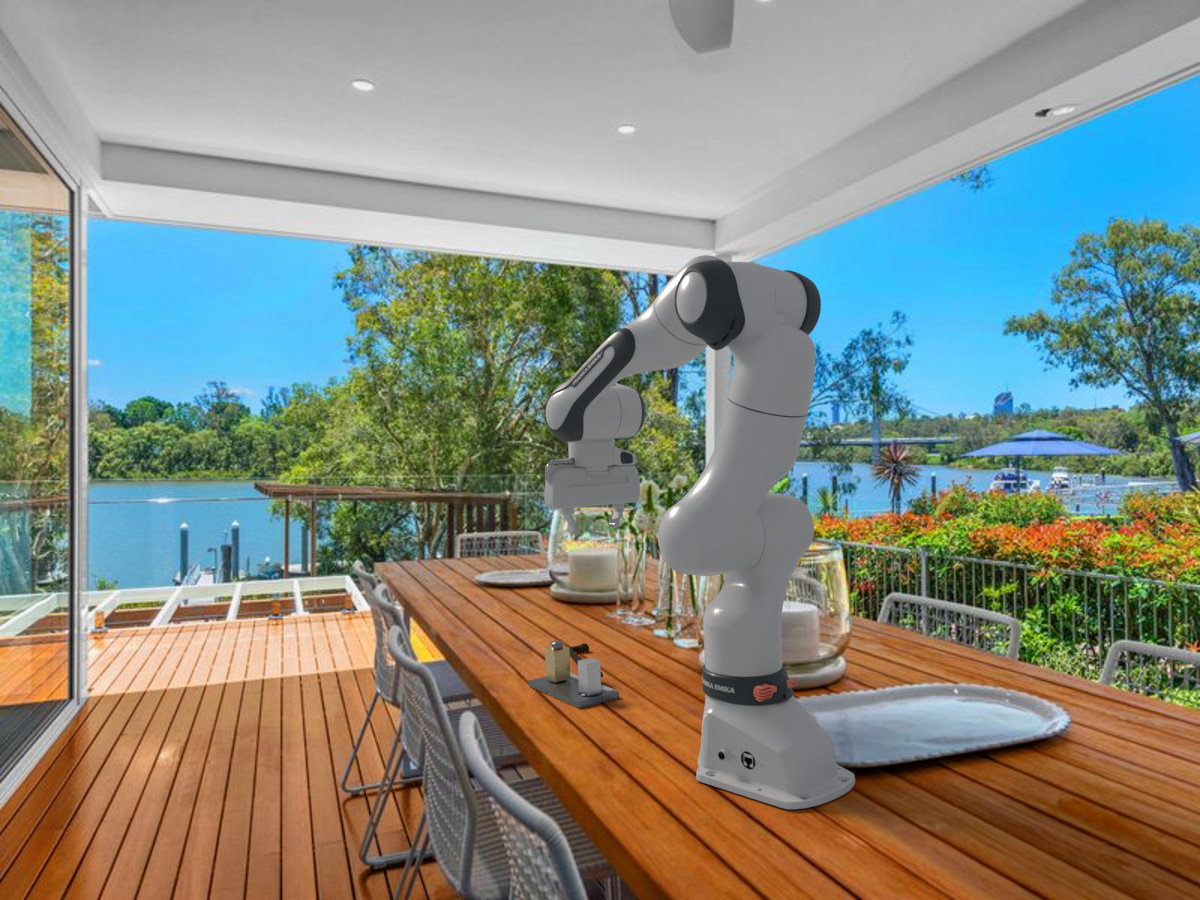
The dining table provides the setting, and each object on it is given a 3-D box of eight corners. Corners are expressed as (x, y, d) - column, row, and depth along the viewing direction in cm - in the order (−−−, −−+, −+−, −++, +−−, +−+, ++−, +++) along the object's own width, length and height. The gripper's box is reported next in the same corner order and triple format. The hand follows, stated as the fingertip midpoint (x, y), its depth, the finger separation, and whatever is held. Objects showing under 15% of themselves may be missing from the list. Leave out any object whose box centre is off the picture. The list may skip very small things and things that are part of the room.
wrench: (589, 659, 182) (617, 687, 153) (568, 663, 181) (592, 691, 152) (587, 636, 183) (614, 660, 153) (565, 640, 182) (589, 664, 152)
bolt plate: (619, 697, 147) (617, 659, 147) (579, 708, 142) (577, 668, 142) (566, 677, 162) (565, 642, 162) (528, 686, 156) (527, 650, 156)
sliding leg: (570, 678, 155) (569, 642, 155) (555, 682, 153) (553, 645, 153) (561, 674, 158) (559, 639, 158) (546, 678, 156) (544, 642, 156)
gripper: (554, 459, 142) (557, 536, 142) (643, 455, 154) (646, 525, 154) (536, 459, 147) (539, 533, 147) (623, 455, 159) (626, 524, 159)
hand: (594, 529), depth 151 cm, fingers open, 8 cm apart
